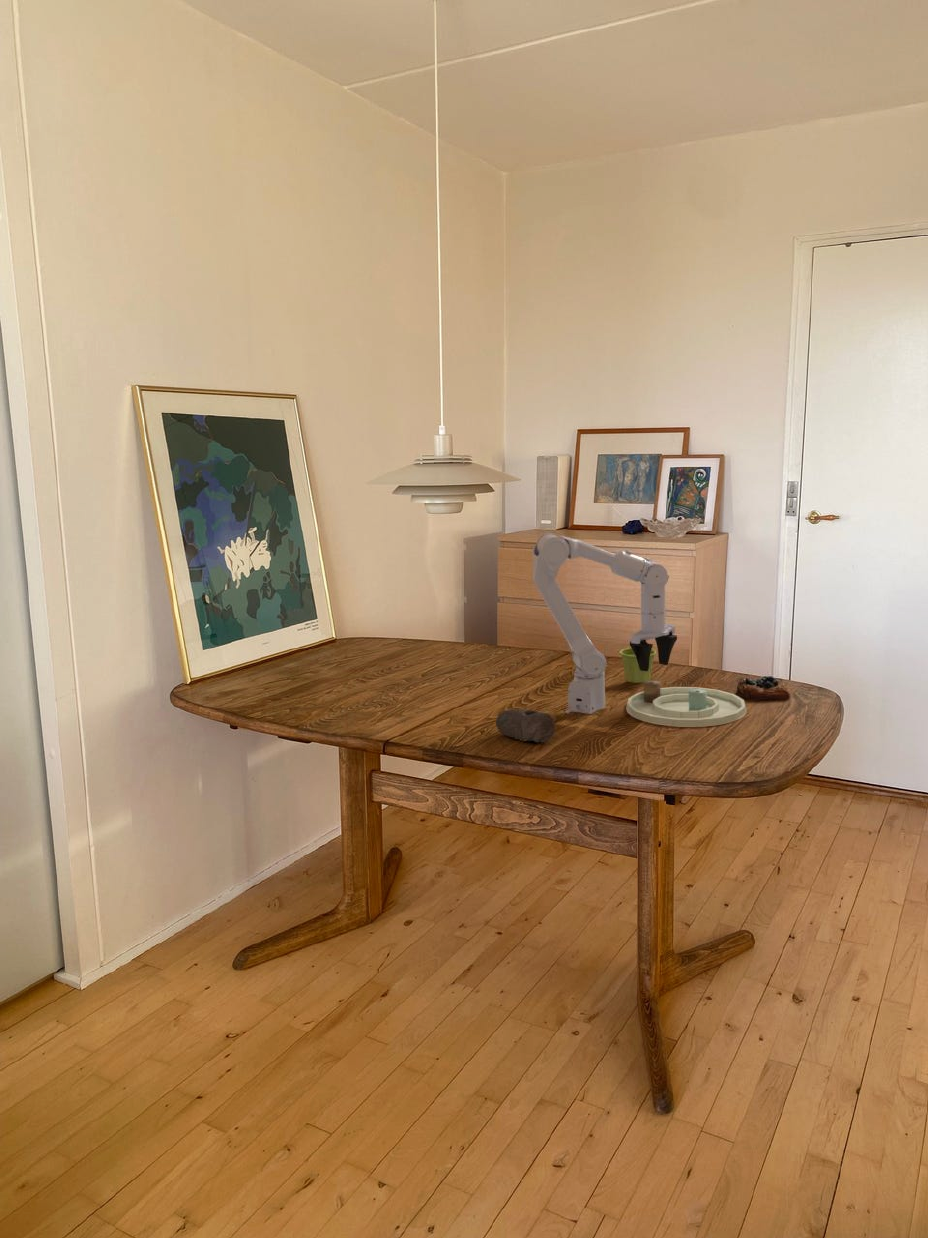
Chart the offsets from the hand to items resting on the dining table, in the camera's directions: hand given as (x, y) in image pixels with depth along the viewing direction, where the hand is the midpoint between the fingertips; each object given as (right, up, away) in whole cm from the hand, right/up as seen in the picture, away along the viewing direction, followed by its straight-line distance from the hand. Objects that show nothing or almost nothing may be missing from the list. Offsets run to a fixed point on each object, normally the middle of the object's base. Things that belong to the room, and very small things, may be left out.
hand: (653, 667), depth 226 cm
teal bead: (+9, -10, -7) cm, 15 cm away
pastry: (+27, -8, +3) cm, 29 cm away
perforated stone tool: (-33, -15, -19) cm, 41 cm away
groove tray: (+6, -10, -5) cm, 13 cm away
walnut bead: (0, -8, +2) cm, 8 cm away
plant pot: (0, -6, +22) cm, 22 cm away
